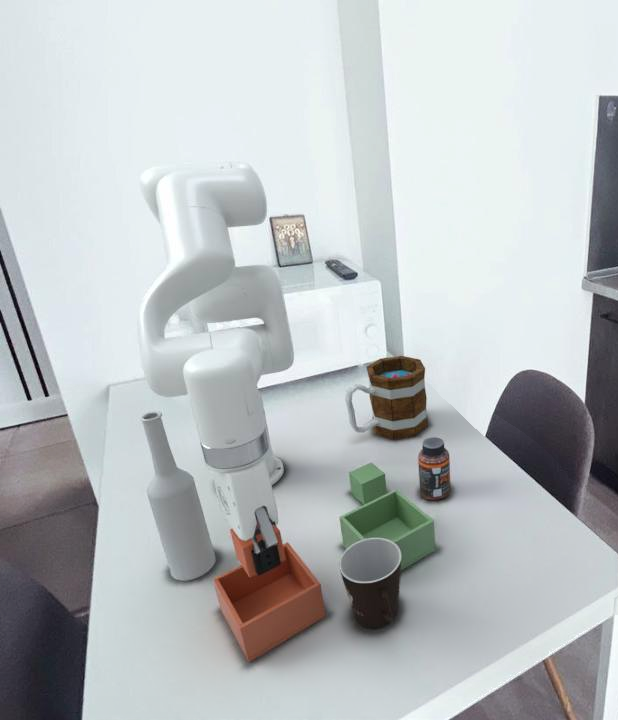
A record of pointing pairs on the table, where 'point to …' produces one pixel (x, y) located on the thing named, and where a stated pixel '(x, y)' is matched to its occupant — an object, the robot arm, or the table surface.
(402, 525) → the sage bin
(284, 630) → the terracotta bin
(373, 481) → the sage block
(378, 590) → the coffee mug
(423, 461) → the supplement bottle
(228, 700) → the table surface
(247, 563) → the terracotta block
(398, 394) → the mug
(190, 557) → the bottle
